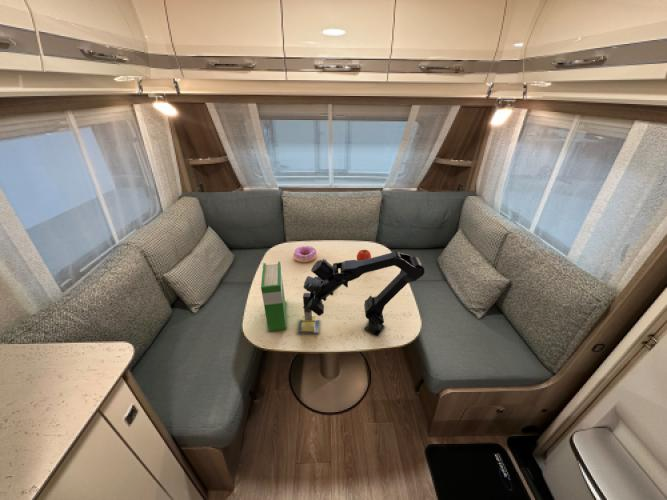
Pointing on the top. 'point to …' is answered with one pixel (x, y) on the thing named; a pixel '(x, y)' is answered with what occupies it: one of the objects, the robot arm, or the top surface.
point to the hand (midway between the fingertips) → (304, 305)
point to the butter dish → (309, 326)
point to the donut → (305, 250)
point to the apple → (363, 255)
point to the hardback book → (273, 296)
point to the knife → (307, 311)
